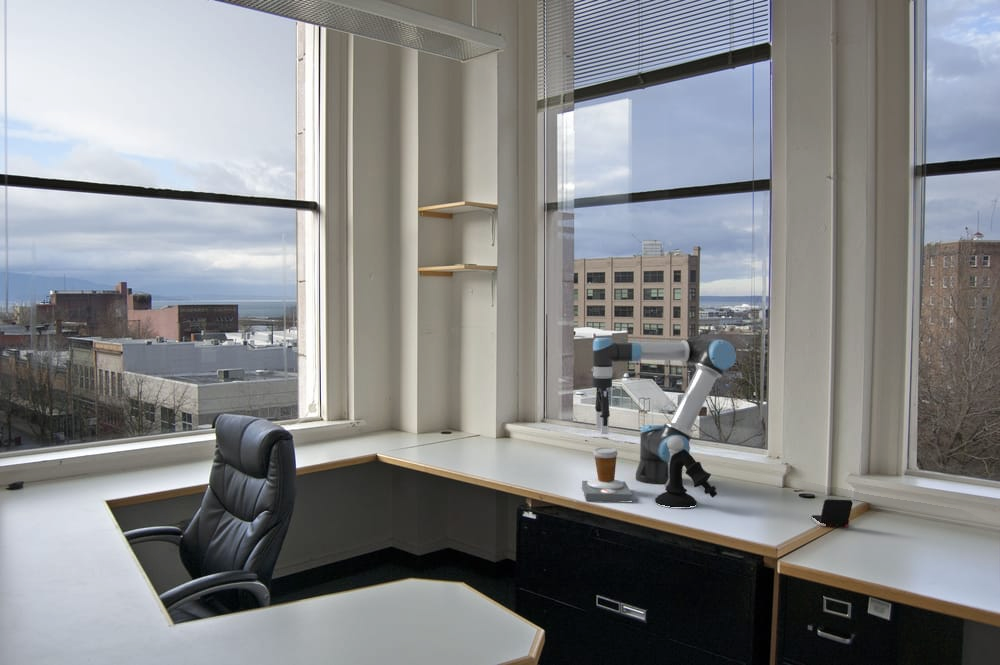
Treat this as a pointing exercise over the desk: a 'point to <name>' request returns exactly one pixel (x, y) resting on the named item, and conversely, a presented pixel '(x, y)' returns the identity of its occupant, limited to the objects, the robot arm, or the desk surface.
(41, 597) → the desk surface
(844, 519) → the handheld gaming console
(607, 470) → the disposable coffee cup
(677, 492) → the sculpture
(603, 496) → the dial scale
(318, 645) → the desk surface
